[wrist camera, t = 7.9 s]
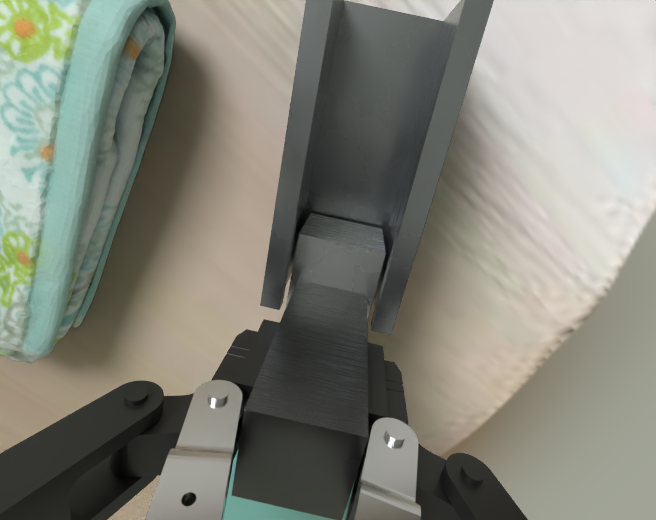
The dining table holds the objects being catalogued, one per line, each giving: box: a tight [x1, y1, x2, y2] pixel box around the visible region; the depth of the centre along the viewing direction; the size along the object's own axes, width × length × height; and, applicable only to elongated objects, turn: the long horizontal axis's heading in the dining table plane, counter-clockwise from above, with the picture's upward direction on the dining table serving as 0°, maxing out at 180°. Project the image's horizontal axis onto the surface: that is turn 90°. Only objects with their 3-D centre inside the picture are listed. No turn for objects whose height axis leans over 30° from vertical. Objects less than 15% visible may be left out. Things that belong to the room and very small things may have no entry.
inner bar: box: [231, 213, 386, 520], centre depth 16 cm, size 14×4×11 cm, turn 169°
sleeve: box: [260, 0, 494, 335], centre depth 16 cm, size 12×5×6 cm, turn 169°
